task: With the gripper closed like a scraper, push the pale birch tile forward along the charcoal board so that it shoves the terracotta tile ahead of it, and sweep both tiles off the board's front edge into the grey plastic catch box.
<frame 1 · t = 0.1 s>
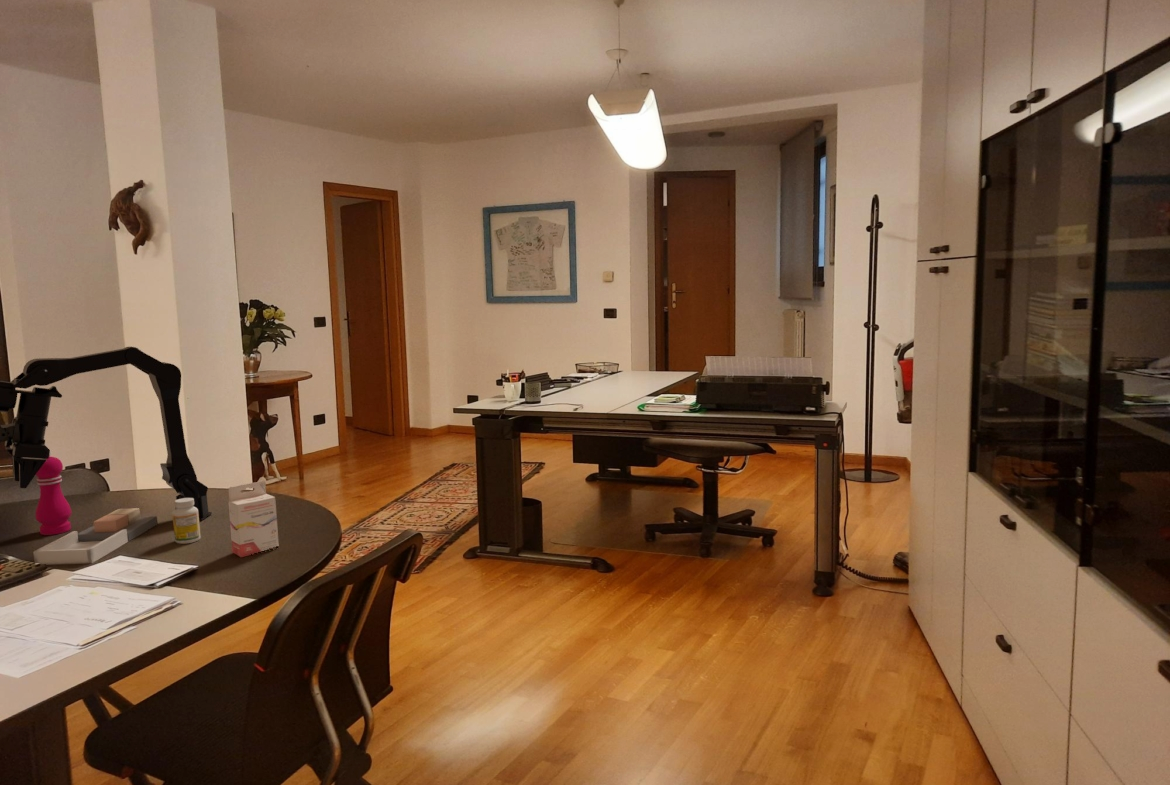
hand: (20, 484, 176), 15 cm above the table, tool pointing down, fingers open, 9 cm apart
terracotta tile: (111, 528, 187), point 2 cm above the table, touching board
pepper mill: (55, 532, 193), on the table
birch tile: (124, 521, 193), point 2 cm above the table, touching board
supplement bottle: (188, 541, 183), on the table
ink cartridge box: (256, 551, 174), on the table
board: (118, 533, 190), on the table
catch box: (83, 553, 176), on the table
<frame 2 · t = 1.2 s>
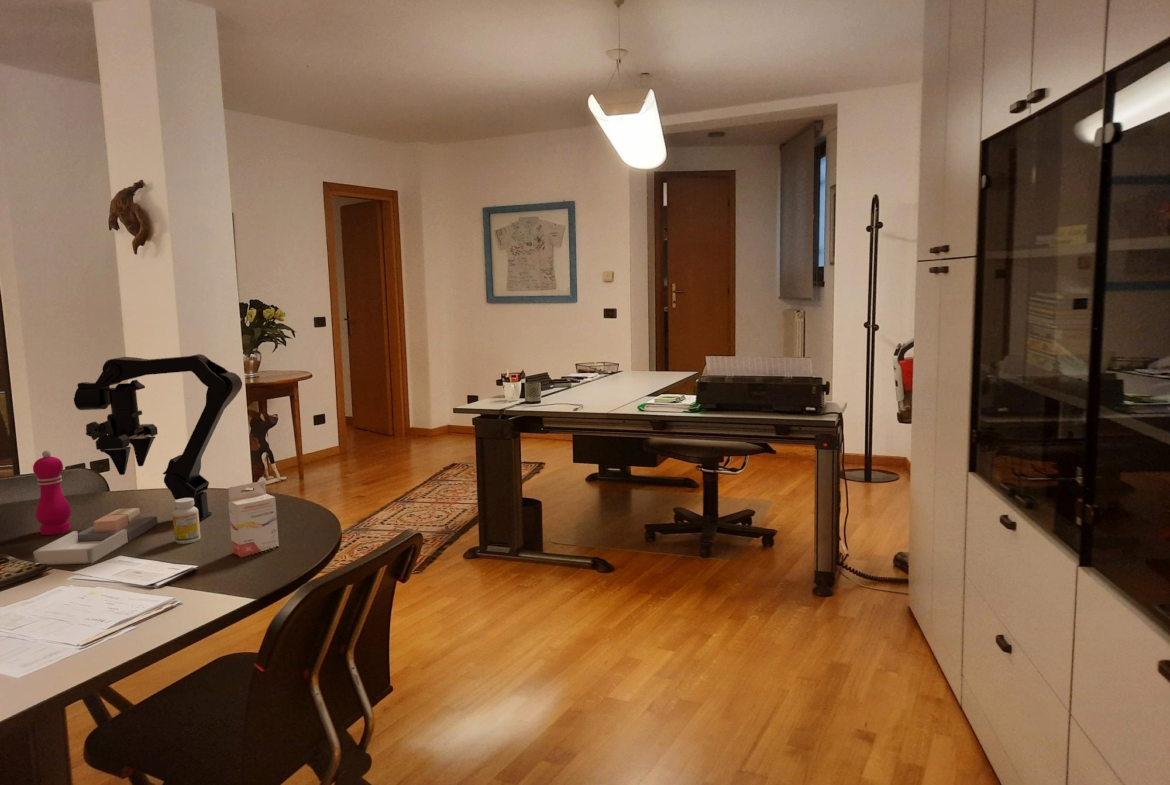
hand: (131, 470, 198), 13 cm above the table, tool pointing down, fingers open, 9 cm apart
nothing on the table moved.
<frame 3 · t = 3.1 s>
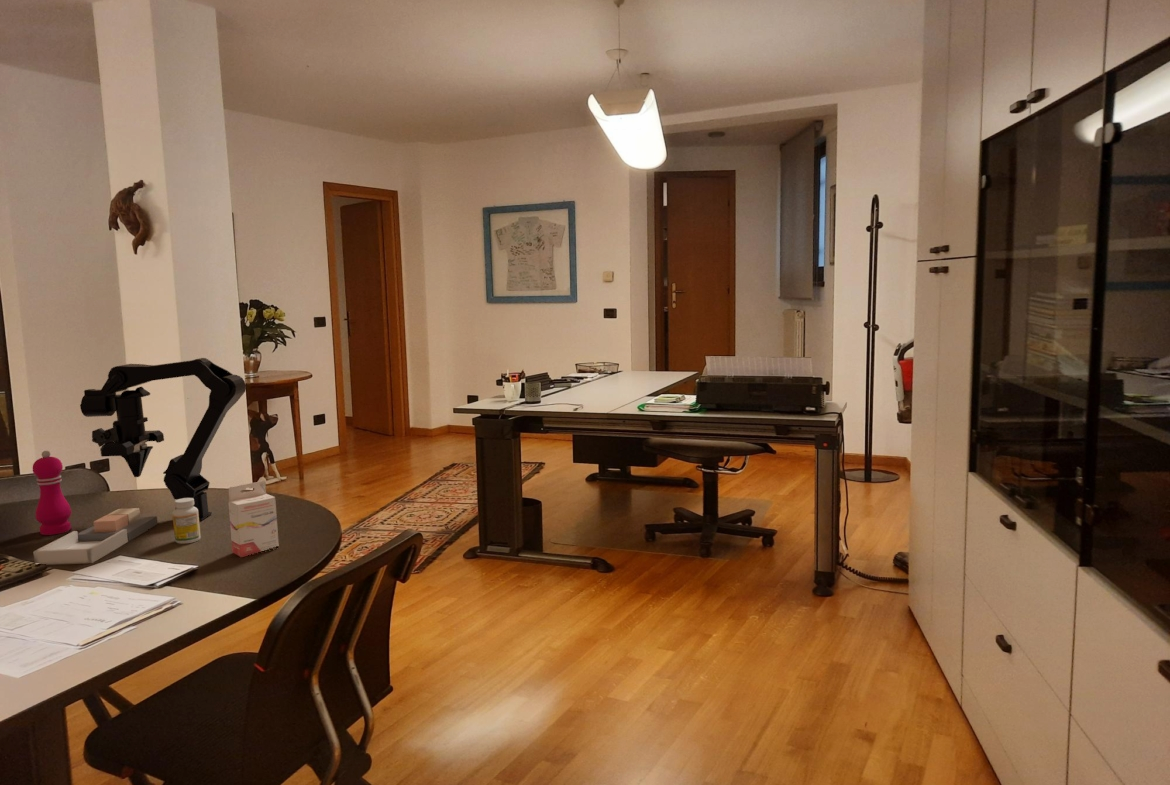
hand: (137, 476, 199), 11 cm above the table, tool pointing down, fingers closed
nothing on the table moved.
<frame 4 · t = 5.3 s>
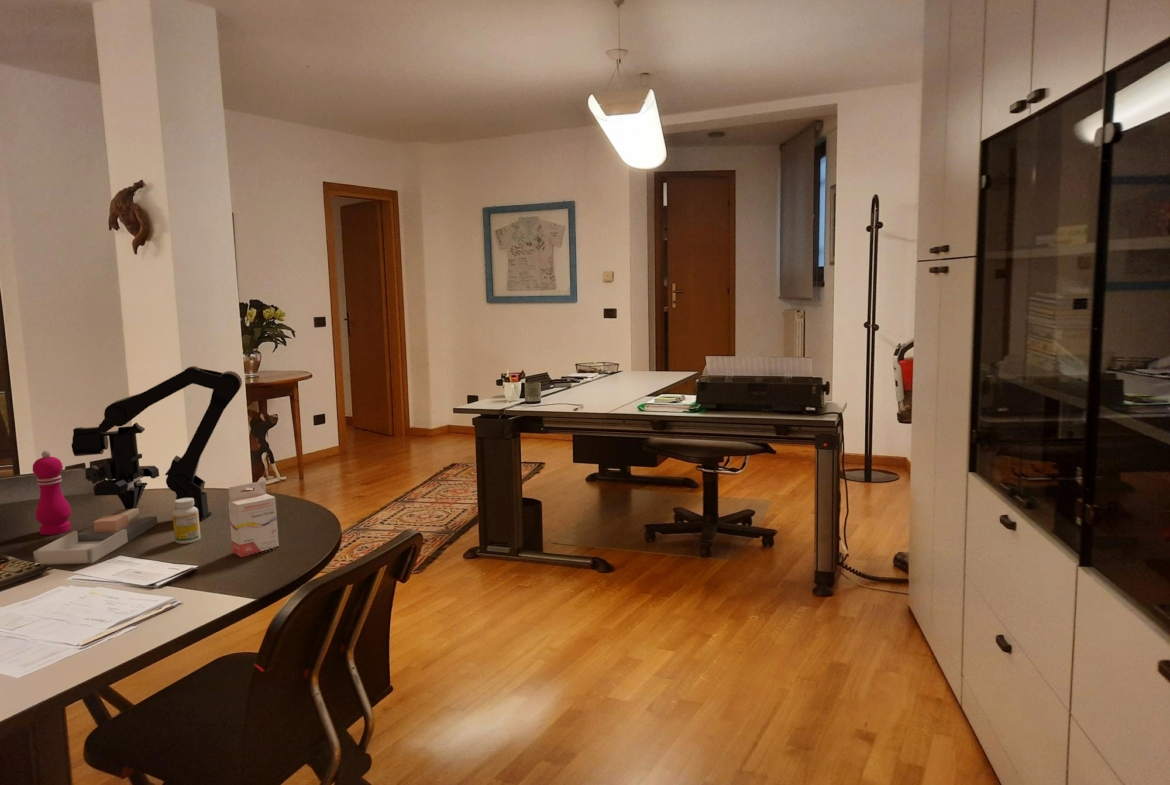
hand: (131, 514, 196), 3 cm above the table, tool pointing down, fingers closed
birch tile: (123, 521, 192), point 2 cm above the table, touching board, gripper
everything else where it was.
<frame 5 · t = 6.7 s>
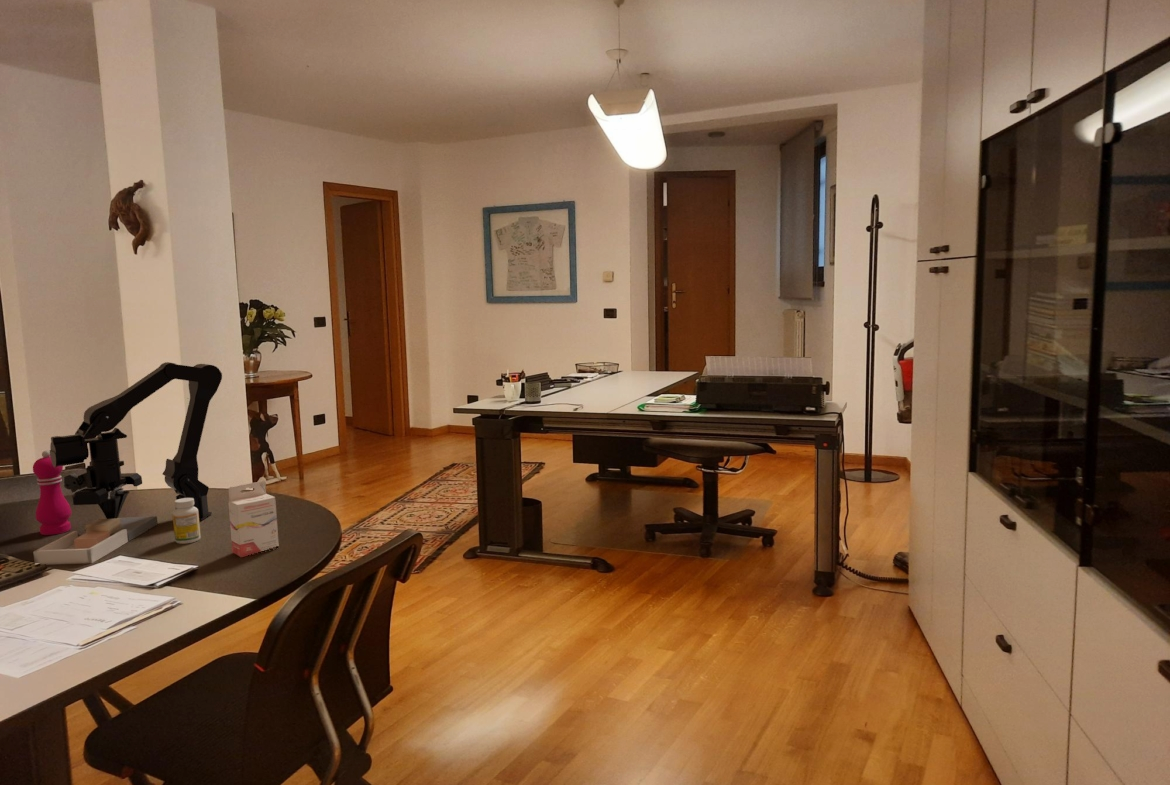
hand: (112, 523, 188), 3 cm above the table, tool pointing down, fingers closed
terracotta tile: (93, 546, 180), resting on catch box
birch tile: (104, 532, 184), point 2 cm above the table, touching gripper
everything else where it was.
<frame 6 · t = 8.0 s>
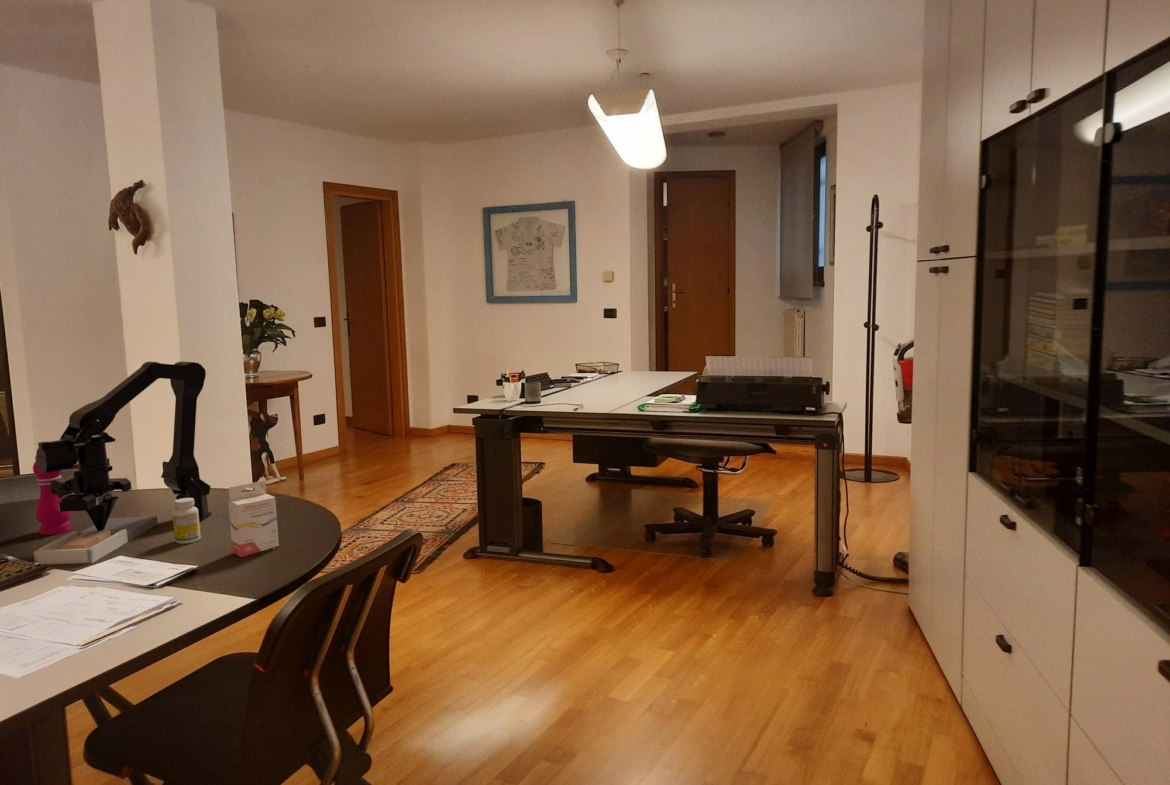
hand: (100, 530, 183), 3 cm above the table, tool pointing down, fingers closed
terracotta tile: (81, 552, 175), resting on catch box
birch tile: (94, 544, 180), resting on catch box, touching gripper
everything else where it was.
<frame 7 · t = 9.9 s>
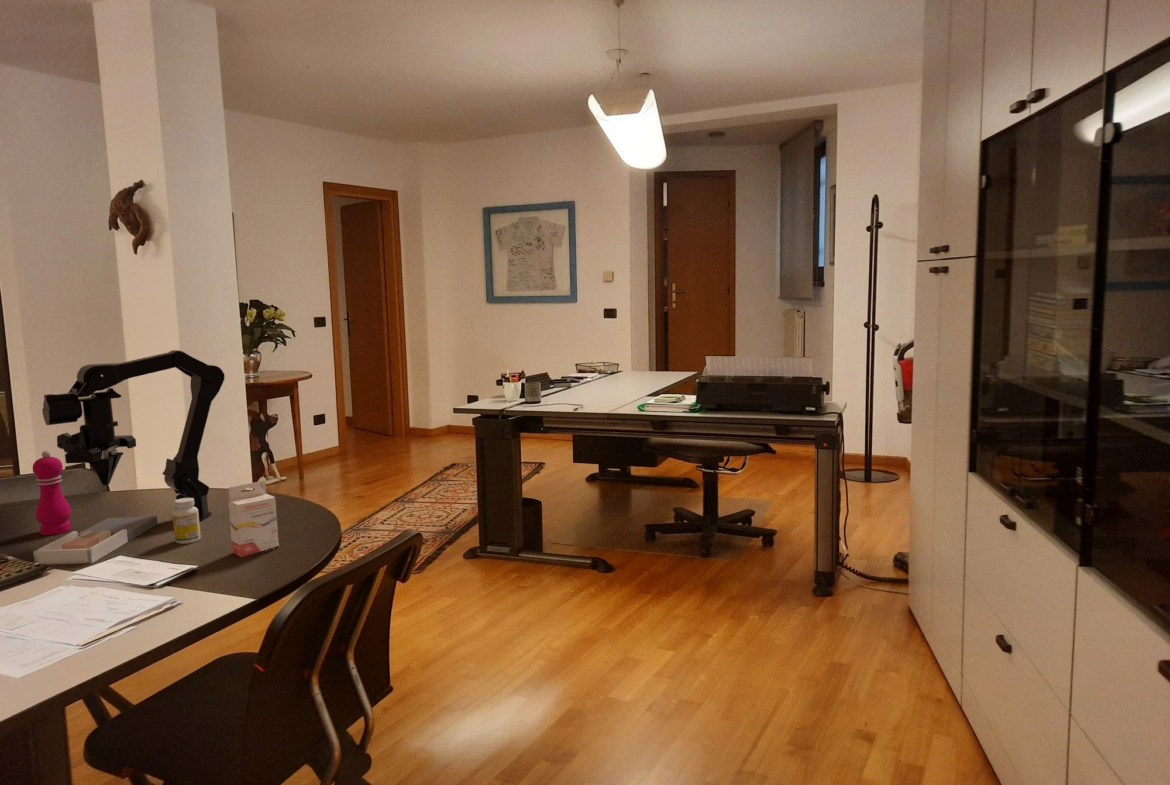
hand: (106, 485, 186), 13 cm above the table, tool pointing down, fingers closed
birch tile: (94, 544, 180), resting on catch box
everything else where it was.
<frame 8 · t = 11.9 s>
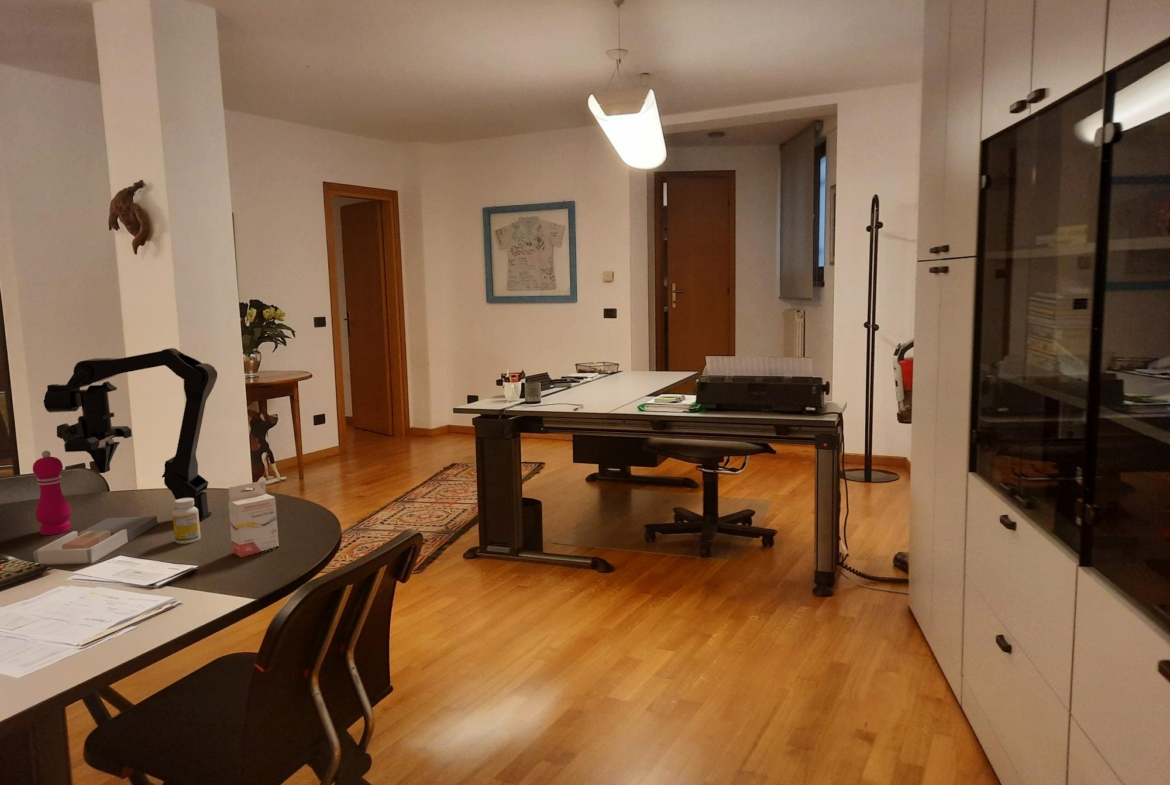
hand: (103, 472, 196), 13 cm above the table, tool pointing down, fingers closed
nothing on the table moved.
at the end: birch tile inside the target area on the catch box (3.9 cm from its centre), point 0.4 cm above the catch box's base; terracotta tile inside the target area on the catch box (1.1 cm from its centre), point 0.4 cm above the catch box's base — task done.
